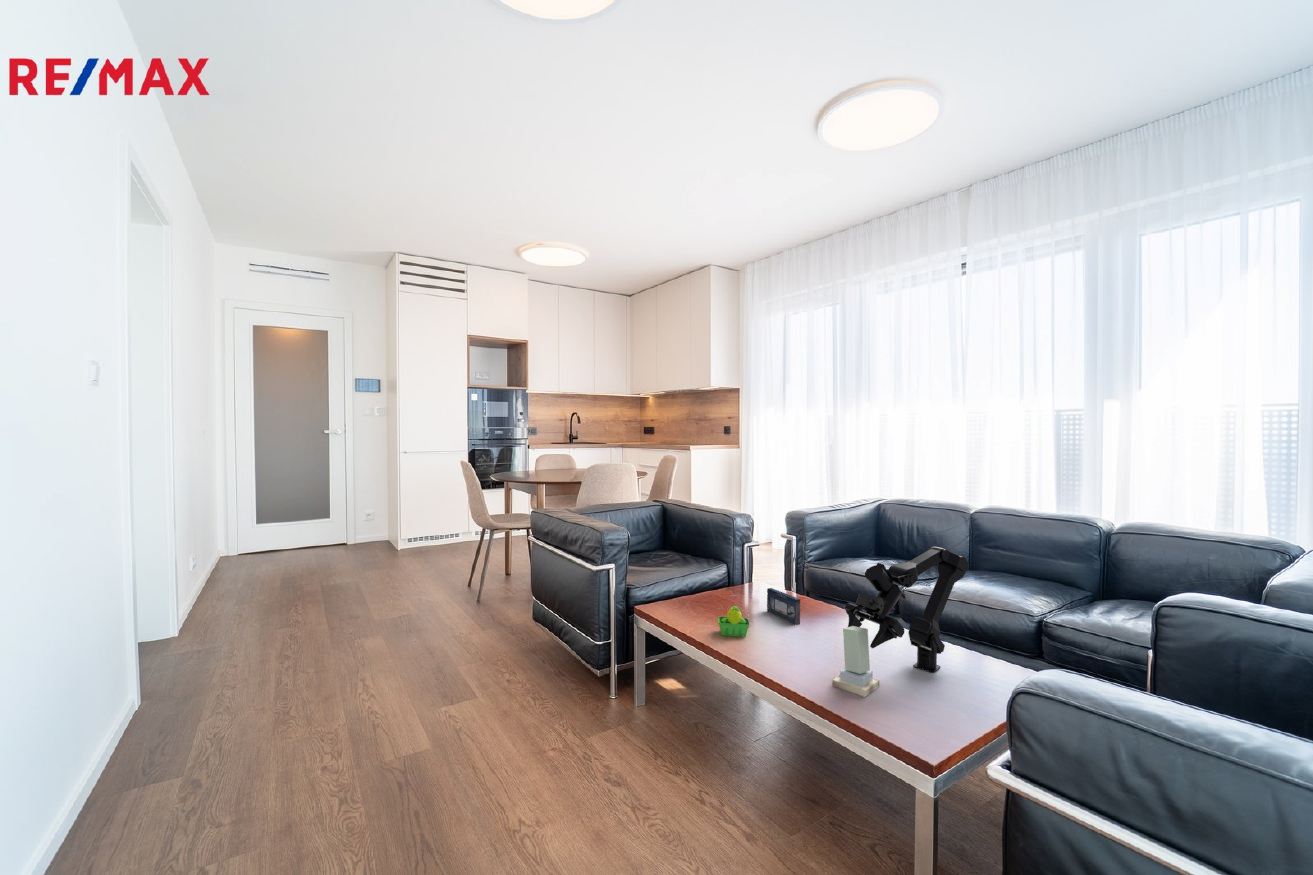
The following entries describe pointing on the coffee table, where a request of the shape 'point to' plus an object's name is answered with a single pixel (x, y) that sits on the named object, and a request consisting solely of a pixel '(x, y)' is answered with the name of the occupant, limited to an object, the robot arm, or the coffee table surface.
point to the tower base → (856, 686)
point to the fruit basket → (733, 623)
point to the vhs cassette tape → (783, 605)
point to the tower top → (856, 677)
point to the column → (856, 649)
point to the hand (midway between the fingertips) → (858, 642)
